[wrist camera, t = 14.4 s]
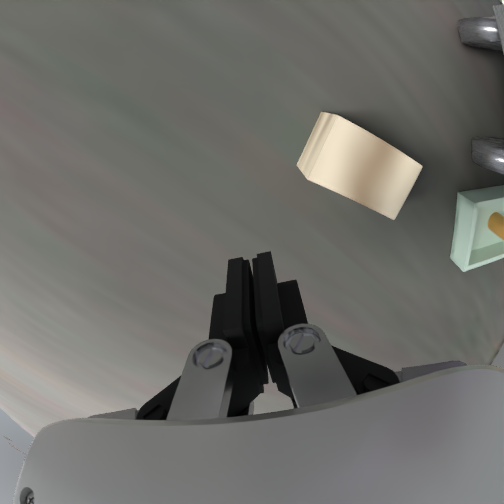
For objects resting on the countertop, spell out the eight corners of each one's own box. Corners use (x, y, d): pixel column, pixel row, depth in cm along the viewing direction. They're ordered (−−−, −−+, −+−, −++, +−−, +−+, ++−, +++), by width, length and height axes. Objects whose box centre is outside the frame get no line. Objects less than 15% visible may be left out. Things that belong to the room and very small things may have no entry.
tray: (449, 257, 28) (463, 271, 26) (457, 192, 24) (474, 203, 22) (514, 237, 27) (526, 248, 25) (523, 181, 23) (538, 190, 21)
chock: (296, 164, 23) (307, 179, 19) (320, 111, 21) (337, 115, 17) (372, 200, 25) (394, 220, 21) (396, 153, 23) (422, 166, 19)
